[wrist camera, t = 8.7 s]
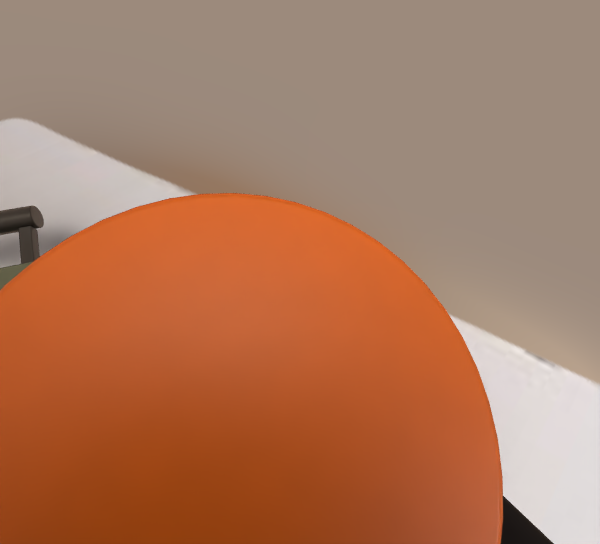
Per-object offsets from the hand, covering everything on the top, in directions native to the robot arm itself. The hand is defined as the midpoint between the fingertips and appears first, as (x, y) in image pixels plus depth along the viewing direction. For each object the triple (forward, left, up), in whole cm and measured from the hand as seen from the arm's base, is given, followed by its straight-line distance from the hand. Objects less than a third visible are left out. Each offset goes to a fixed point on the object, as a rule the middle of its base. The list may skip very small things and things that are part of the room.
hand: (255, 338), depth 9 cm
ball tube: (-1, +1, -5) cm, 5 cm away
